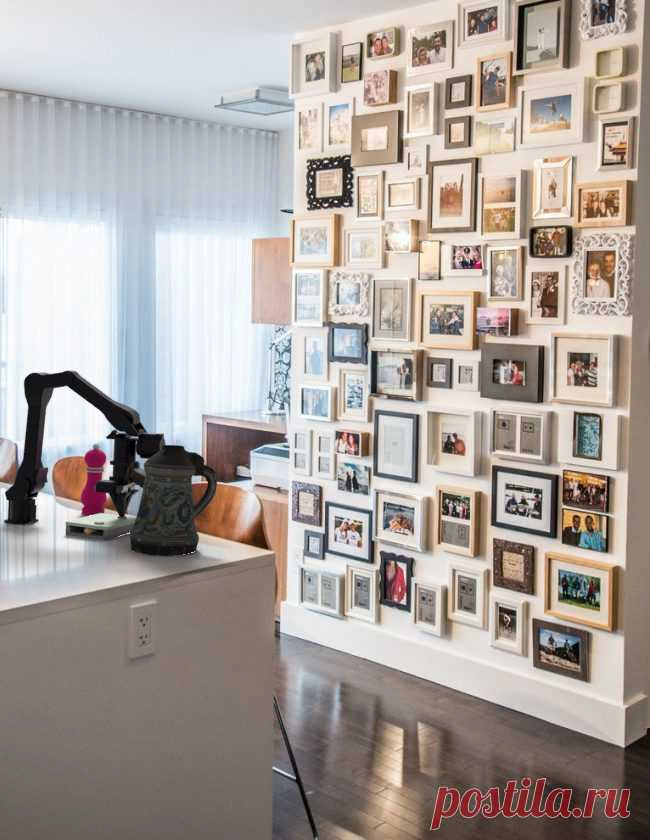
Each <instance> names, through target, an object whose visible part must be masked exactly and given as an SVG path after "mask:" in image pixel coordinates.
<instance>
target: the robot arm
mask: <svg viewBox="0 0 650 840" xmlns="http://www.w3.org/2000/svg"><path fill="white" fill-rule="evenodd" d="M63 387H64V388H65V387H68V388H69V389H70V390H72V392H74V393H75V394H77V395H78V396H80V397H81V398H82V399H83V400H85V401H86V402H87V403H88V404H90V405H92V406H93V407H94V408H96V409H97V410H98V411H100V413H102V414H103V416H104V417H105V419H106V420H107V422H108V423H109V424H110V425H111V426H112V427H113V428H114V429H113V430H111V432H110V433H109V434H107V435H106V436H105V439H107V440H113V458H112V459H113V460H109V465H111V466H112V475H111V476H109V477H108V479H102V480H101V481H98V482H97V483H96V484H95V492H101V493H106V494H108V495H109V496H110V499H111V500H112V503H113V505H114V508H115V509H116V512H117V515H119V516H120V517H124V516H126V513H127V511H128V508H129V506H130V505H129V504H130V502H131V500H132V498H133V496H134V495H136V494H137V493H139V492H140V489H136V486H139V488H142V489H143V486H144V482H145V477H146V473H145V470H144V468H141V467H140V466H141V465H140V464H141V463H140V461H139V460H137V456H139V458H140V459H144V460H145V459H146V460H148V459H149V458H150V457H152V456H153V455H155V454H156V453H158V452H159V451H160V450H161V449H162V446H163V445H167V443H166V439H165V433H160V432H159V433H153V432H152V433H149V432H148V431H147V429H146V427H145V426H144V425H143V423H142V422H141V417H140V415H141V414H140V413H139V412H138V411H137V410H136V409H134V408H132V407H130V406H128V405H126V404H124V403H121V402H118V401H116V400H115V399H113V398H111V397H109V395H107V394H106V393H105V392H103V391H102V390H100V389H99V388H98V387H96V386H95V385H94V384H92V383H91V382H89V381H88V380H87V379H86V378H84V377H83V376H82V375H81V374H79V372H78V371H76V370H64V371H62V372H61V371H60V372H55V373H54V372H53V373H49V372H46V371H45V372H31V373H28V375H26V376H25V377H24V380H23V389H24V390H23V391H24V398H25V400H26V403H27V414H26V425H25V436H24V446H23V457H22V461H21V463H20V464H19V467H18V469H17V471H16V475H15V478H14V481H13V483H14V484H13V485H11V486H10V487H9V488H8V489H7V490H6V491H5V492H4V494H5V499H6V500H7V501H8V502H7V503H8V506H7V507H8V508H7V519H3V522H4V523H11V524H17V525H18V524H19V525H28V524H32V523H35V522H39V519H38V518H37V505H36V499H35V498H38V495H39V493H40V491H42V490H43V489H44V487H45V486H46V484H47V483H49V480H48V473H49V467H47V466H45V467H44V464H43V462H42V455H43V445H44V435H45V426H46V425H45V424H46V413H47V407H48V404H49V403H50V402H51V399H52V397H53V393H54V390H55V389H59V388H63Z"/></svg>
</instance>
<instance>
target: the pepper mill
mask: <svg viewBox="0 0 650 840" xmlns="http://www.w3.org/2000/svg"><path fill="white" fill-rule="evenodd" d="M106 462H107V455H106V453H105V452H104V451H103V450H101V449H100V445H99V444H98V443H94V444H92V449H90V450H88V451H87V452H86V453H85V454H84V463H85V464H86V465H87V466H85V468H86V469H85V472H86V474H87V478H86V483H85V486H84V488H83V489H82V492H81V495H80V503H81V504H82V505H83V507H82V508H81V515H82V514H83V516H86V515H95V514H99V513H105V507H103V506H105V504H106V503H107V499H108V497H107V493H101V492H95V484H96V483H97V482H98V481H101V480H103V473H104V472H105V467H104V465H105V464H106Z"/></svg>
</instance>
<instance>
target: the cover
mask: <svg viewBox="0 0 650 840" xmlns="http://www.w3.org/2000/svg"><path fill="white" fill-rule="evenodd" d="M136 517H137V516H135V517H134V516H128V515H125V516H124V517H120V516H119V514H113V513H105V512H104V513H99V514H95V515H91V516H86V515H85V516H82V517H79V518H75V519H70V520H68V521H65V526H66V525H71V526H79V527H86V528H94V529H101V530H110V529H114V528H118V527H121V526H125V525H128V524H132V523H135V520H136Z"/></svg>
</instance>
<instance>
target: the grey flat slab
mask: <svg viewBox="0 0 650 840" xmlns="http://www.w3.org/2000/svg"><path fill="white" fill-rule="evenodd" d="M133 525H134V523H132V524H128V525H125V526H121V527H118V528H114V529H110V530H101V529H94V528H86V527H79V526H71V525H65V536H72V537H79V538H80V537H81V538H87V539H88V538H89V539H93V540H100V539H102V540H101V541H110V540H113V539H112V538H114V539H116V538H115V537H117V538H119V537H118V536H120V535H123V534H126V533H129V532H131V530H132V528H133ZM109 539H110V540H109Z"/></svg>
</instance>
